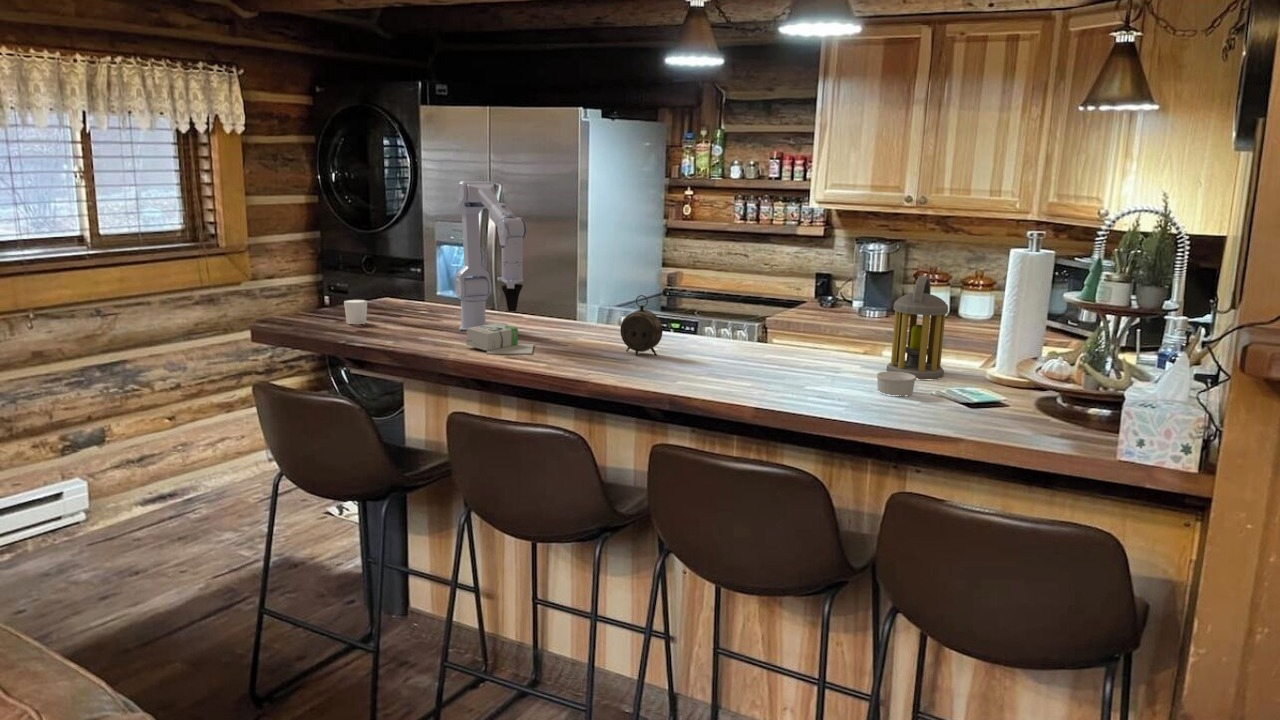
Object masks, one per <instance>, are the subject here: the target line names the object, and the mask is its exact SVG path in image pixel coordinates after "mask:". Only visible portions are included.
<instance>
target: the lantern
mask: <svg viewBox="0 0 1280 720" xmlns="http://www.w3.org/2000/svg"><path fill="white" fill-rule="evenodd" d="M931 289H932V288H931V280H930V277H928V276H923V275H922V276H921V275H920V276H918V278H917V279H916V282H915V285H914V290H913V292H911V293H907V294H904V295H902V296H901V297H899V298H897V300H895V301H894V303H893V310H894V321H893V322H894V323H893V334H892V343H891V345H892V347H891V358H890V359H891V360H890V362H889V363H888V364H887V366H886V371H887V372H904V373H909V374H912V375H914V376H916V378H918V379H937V380H939V379H938V378H941V379H943V378H944V373H945V370H944V368H943V367H942V366H941V365H942V364H941V363H942V356H943V355H942V352H943V344H944V342H943V341H944V333H945V322H946V315H947V314H949V313H948V312H949V305H948V304H947V303H946V302H945V301H944V300H943V299H942V298H940V297H939V296H937V295H935V294H931V292H932V291H931ZM918 315H919V316H922V320H921V321H922V324H920V323H919V324H918ZM909 316H910V317H909ZM908 328H909V329H908ZM907 338H908V339H907ZM907 340H908V341H907ZM886 371H885V372H886ZM942 377H943V378H942Z"/></svg>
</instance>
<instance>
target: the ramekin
mask: <svg viewBox="0 0 1280 720" xmlns="http://www.w3.org/2000/svg"><path fill="white" fill-rule="evenodd" d="M876 378H877V381H876V382H877V391H880V392H882V393H885V394H890V395H899V396H900V395H901V396H905V395H910V396H912V395H913V394H914V388H915V382H916V381H917V380H916V376H914V375H912V374H909V373H904V372H886V371H881V372H877V373H876ZM911 394H912V395H911Z"/></svg>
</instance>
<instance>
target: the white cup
mask: <svg viewBox="0 0 1280 720" xmlns="http://www.w3.org/2000/svg"><path fill="white" fill-rule="evenodd" d="M343 305H344V312H345V320H346V324H347V323H348V324H364V325H366V324H367V316H368V315H367V313H368V300H366V299H346V300H344V301H343ZM365 323H366V324H365ZM348 324H347V325H348Z"/></svg>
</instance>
